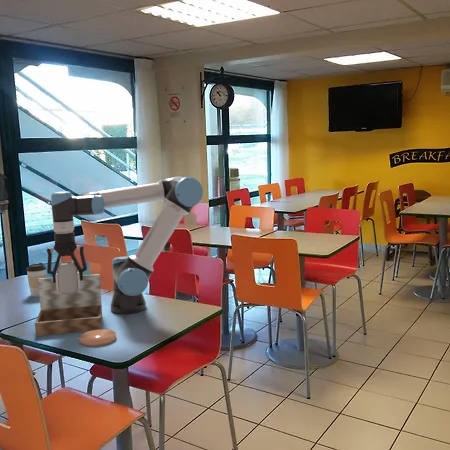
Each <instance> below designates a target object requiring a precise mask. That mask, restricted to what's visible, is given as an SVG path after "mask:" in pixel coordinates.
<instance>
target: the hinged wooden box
mask: <svg viewBox="0 0 450 450" xmlns="http://www.w3.org/2000/svg"><path fill="white" fill-rule="evenodd" d="M38 283H39V296H38V297H39V307H40V311H39V312H38V315H37V317H36V319H35V322H34V330H35V337H39V336H40V337H42V336H51V335H59V334H70V333H71V334H72V333H83V332H84V333H85V332H88V331H92V330H98V329H103V328H102V327H103V326H102V325H103V307H102V289H101V287H102V286H101V274H100V273H97V274H96V273H95V274H83V280H82V281H80V283H81V289H80V290H78V291H77V292H76V293H74V294H68V295H64V294H61V293H60V292H59V291H58V292H57V288H56V283H53V276H52V277H46V278H38Z"/></svg>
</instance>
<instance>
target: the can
mask: <svg viewBox="0 0 450 450" xmlns="http://www.w3.org/2000/svg"><path fill="white" fill-rule="evenodd" d="M78 272H79V271H78V269H77V267H76V265H75V263H74V261H73V260H71V261H70V260H68V261H60V262H59V265H58V268H57V271H56V274H58V285H59V292H60V293H61V294H64V295H68V294H74V293H76V292H77V291H78V278H77V273H78Z"/></svg>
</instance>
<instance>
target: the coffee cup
mask: <svg viewBox="0 0 450 450" xmlns="http://www.w3.org/2000/svg"><path fill="white" fill-rule="evenodd" d="M25 271H26V272H27V281H28V288H29V290H30V291H29V292H30V297H40V296H39V283H38V278H47V266H45V264H44V263H43V262H40V263H31V264H29V265H28V267H26V270H25Z"/></svg>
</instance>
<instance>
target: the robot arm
mask: <svg viewBox="0 0 450 450" xmlns="http://www.w3.org/2000/svg"><path fill="white" fill-rule="evenodd" d="M50 197H51V198H50V199H51V201H50V202H51V204H50V206H51V212H52V213H51V214H52V226H53V227H52V228H53V232H54V234H53V238H54V239H53V240H54V246H53V247H52V246H51V247H47V249H46V253H47V266H46V274H47V275H48V274H49V275H51V276H52V277H53V283H56V288H57V292H58V291H59V285H58V274H57V268H58V266H59V263H61V259H62V257H71V260H72V261H73V262H74V263H75V265H76V267H77V271H78V273H77V278H78V290H80V289H81V283H80V281H82V280H83V275H84V272H86V271H87V270H88V267H87V262H86V257H85V254H84V246H85V245H83V244H82V245H79V244H77V242H76V236H75V232H74V230H75V223H74V217H77V216H92V215H95V216H96V215H102V214H104V213H105V209H110V208H117V207H118V208H119V207H124V206H131V205H137V204H144V203H152V202H157V201H161V202H162V203H165V204H164V206H163V208H162V210H161V211H160V213H159V214H158V216H157V218H156V219H155V221H154V223H153V224H152V225H151V227H150V229H149V230H148V232H147V233H146V235H145V236H144V238H143V240H142V241H141V243H140V245H139V246H138V248H137V250H136V251H135V253H134V254H131V255H129V256H127V255H125V256H118V257H114V258H112V262H111V263H112V264H111V267H112V279H113V281H112V282H113V295H112V298H111V301H110V311H111V312H112V313H115V314H123V315H125V314H127V315H128V314H133V313H138V312H142V311H144V310H145V309H147V302H146V300H145V297H144V294H143V292H145V291H146V289H147V288H148V286H149V279H150V277H151V276H152V274H153V272H154V267H153V265H154V264H155V262H156V260H157V259H158V257H159V255H160V254H161V252H162V250H164V247H165V246H166V245H167V243H168V241H169V239H170V238H171V237H172V235H173V233H174V231H175V230H176V229H177V227H178V225H179V223H180V222H181V220H182V219H183V217H184V216H186V215H189V214H190V213H191V211H192V210H193V208H194V206H196V205H198V204H199V203H200V202H201V200H203V197H204V189H203V185H202V184H201V182H200V181H199V180H198V179H196V178H194V177H193V176H190V175H188V176H187V175H177V176H176V175H175V176H173V177H170V178H169V177H168V178H164V179H160V180H158V181H157V182H154V183H147V184H141V185H134V186H133V185H132V186H127V187H119V188H113V189H106V190H97V191H92V192H87V191H86V192H82V193H80V194H79V196H78V195H77V196H75V195H74V196H73V195H72V192H70V191H57V192H56V191H55V192H53V193H52V194H51V195H50ZM76 249H77V250H78V252H79V256H80V260H81V265H82V266H81V265H80V263H79V260H78V258H77V256H76V254H75V251H76ZM54 251H55V252H56V253H57V257H56V260H55V263H54V265H53V266H54V267H53V269H52V264H53V263H52V261H53V253H54Z"/></svg>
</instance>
